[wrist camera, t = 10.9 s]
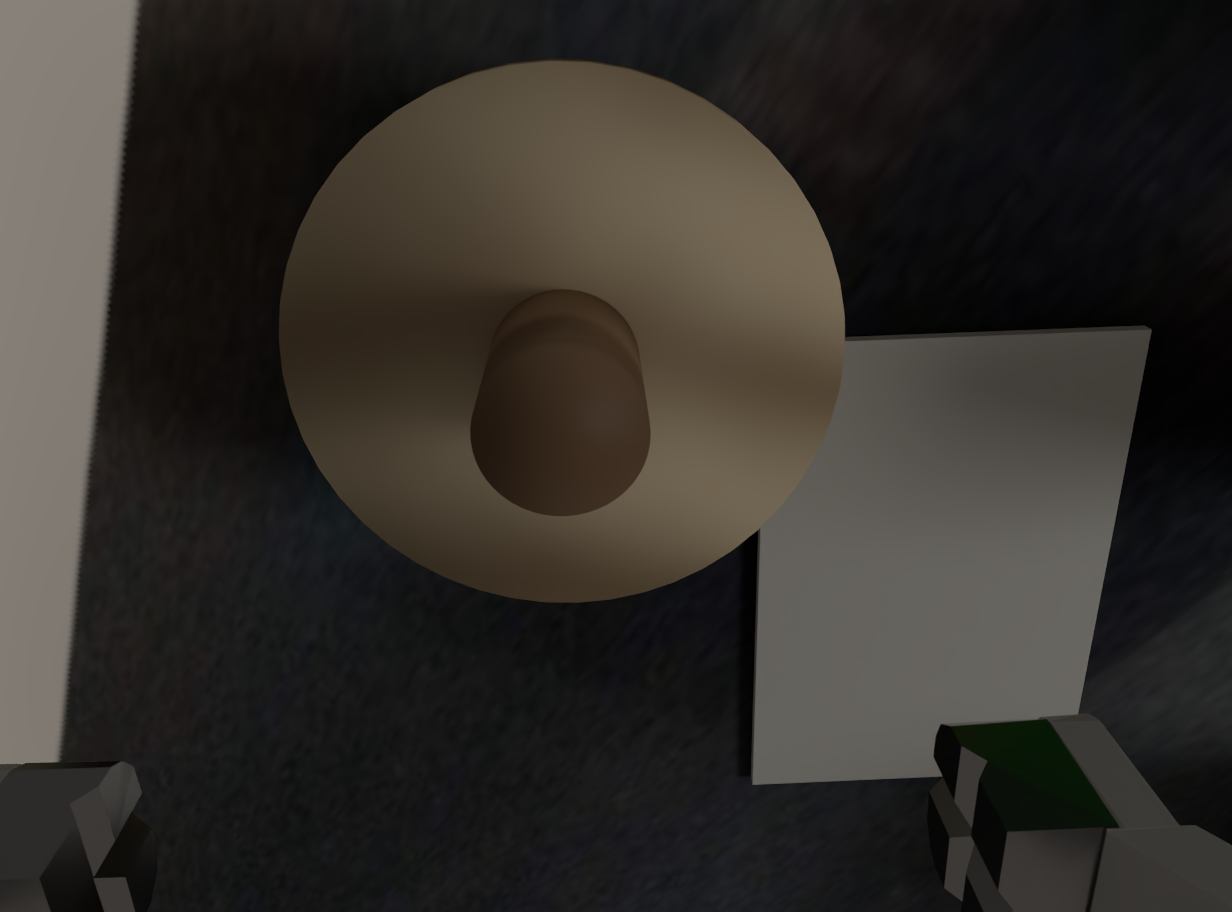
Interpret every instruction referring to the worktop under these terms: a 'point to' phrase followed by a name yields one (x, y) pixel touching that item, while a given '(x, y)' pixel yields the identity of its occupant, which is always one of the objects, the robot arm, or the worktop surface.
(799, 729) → the mat
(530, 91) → the lid
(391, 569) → the worktop surface
